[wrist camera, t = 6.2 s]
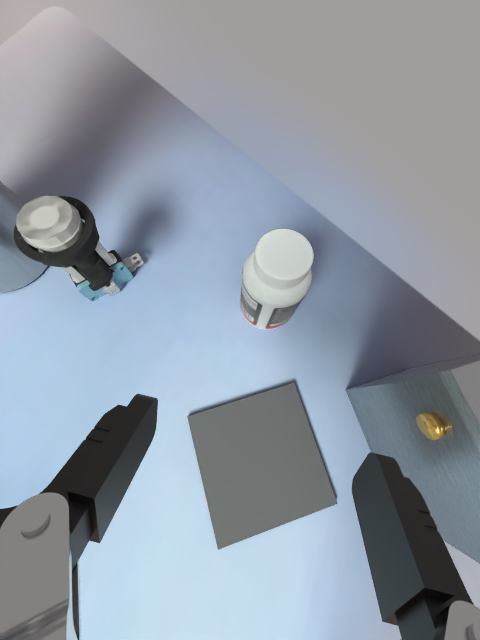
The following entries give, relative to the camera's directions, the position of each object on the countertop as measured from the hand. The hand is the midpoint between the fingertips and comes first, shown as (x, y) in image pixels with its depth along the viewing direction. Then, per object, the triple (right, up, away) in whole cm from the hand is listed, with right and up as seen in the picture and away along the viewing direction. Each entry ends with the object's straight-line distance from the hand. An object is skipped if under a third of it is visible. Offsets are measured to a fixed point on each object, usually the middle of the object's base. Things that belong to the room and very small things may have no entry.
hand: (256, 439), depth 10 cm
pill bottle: (+2, +6, +17) cm, 18 cm away
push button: (-13, +9, +17) cm, 24 cm away
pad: (+1, -7, +13) cm, 15 cm away
